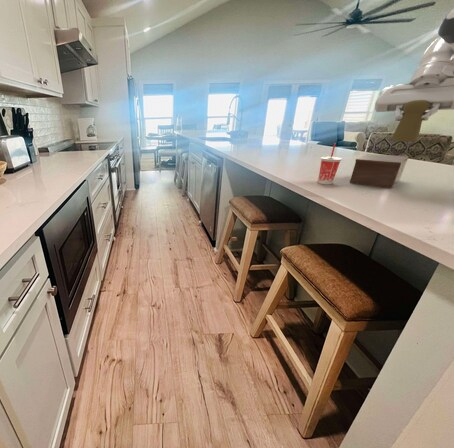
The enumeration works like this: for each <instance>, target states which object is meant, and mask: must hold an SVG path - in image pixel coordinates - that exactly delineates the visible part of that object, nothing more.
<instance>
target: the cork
mask: <svg viewBox="0 0 454 448" xmlns="http://www.w3.org/2000/svg"><path fill="white" fill-rule="evenodd" d="M429 104H430V103H429V101H426V100H414V101H410V102H407V103H406V104H405V106H404V108H403V111H402V113H404V115H403V118H402V119H401V121H398V122H399V123H398V124H397V126H396V128H395V131H394V133H393V134H392V136H391V139H390V141H393V142H418V141H419V138H420V137H419V136H420V134H421V133H420V132H421V127H422V124H423V121H422V119H421V117H422V115H423V113H424V112H427V111H428V110H427V109H428V108H429Z"/></svg>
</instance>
